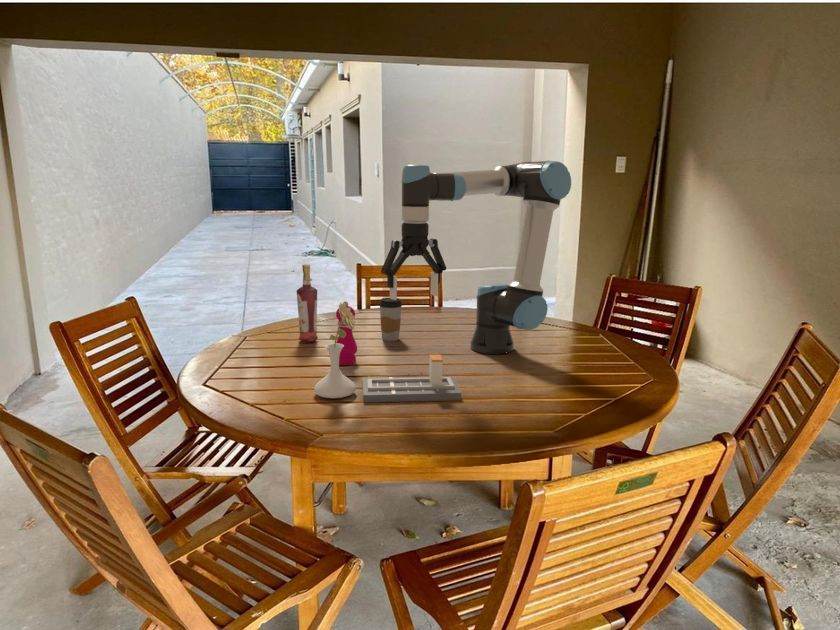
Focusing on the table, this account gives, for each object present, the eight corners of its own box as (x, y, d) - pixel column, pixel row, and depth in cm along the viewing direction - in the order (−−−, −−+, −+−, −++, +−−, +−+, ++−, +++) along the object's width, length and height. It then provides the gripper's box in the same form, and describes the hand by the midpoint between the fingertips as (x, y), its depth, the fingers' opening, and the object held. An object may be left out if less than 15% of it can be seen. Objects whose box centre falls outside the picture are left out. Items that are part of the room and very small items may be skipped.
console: (452, 382, 167) (452, 373, 167) (461, 399, 154) (461, 390, 153) (362, 384, 164) (362, 375, 164) (363, 402, 151) (363, 392, 150)
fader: (439, 380, 162) (440, 354, 160) (442, 386, 157) (442, 359, 155) (428, 380, 161) (429, 354, 160) (431, 386, 157) (431, 359, 155)
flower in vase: (337, 405, 148) (336, 310, 143) (305, 396, 154) (302, 305, 149) (368, 391, 159) (368, 302, 154) (336, 383, 165) (335, 297, 160)
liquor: (321, 342, 208) (320, 265, 202) (302, 345, 204) (300, 266, 198) (313, 338, 214) (311, 263, 208) (294, 340, 210) (292, 264, 204)
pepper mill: (353, 366, 181) (352, 304, 177) (331, 364, 182) (330, 302, 178) (360, 359, 188) (359, 299, 183) (339, 358, 189) (338, 298, 185)
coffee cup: (405, 337, 216) (405, 298, 213) (395, 343, 209) (395, 302, 205) (385, 335, 219) (386, 296, 216) (375, 340, 212) (375, 300, 209)
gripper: (444, 220, 169) (443, 291, 174) (368, 222, 157) (369, 298, 161) (459, 222, 163) (457, 295, 168) (381, 223, 150) (381, 303, 155)
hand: (414, 297), depth 165 cm, fingers open, 13 cm apart
